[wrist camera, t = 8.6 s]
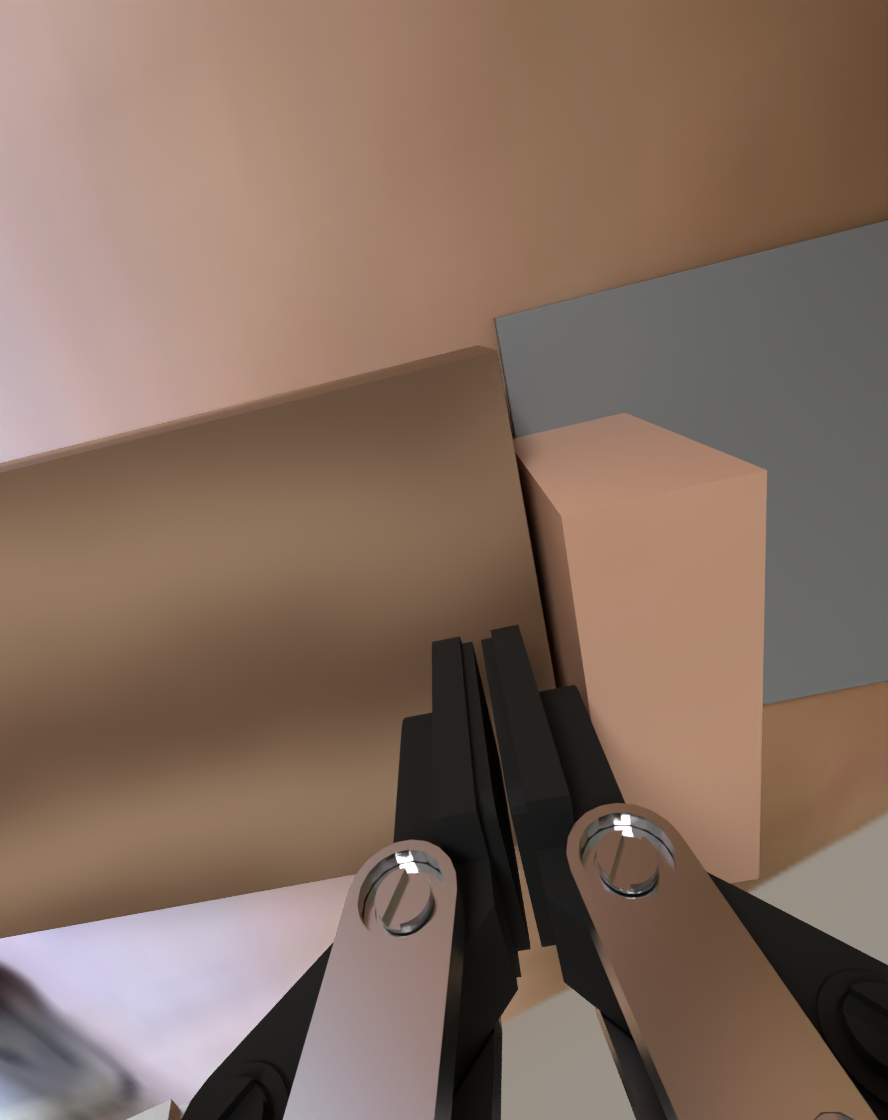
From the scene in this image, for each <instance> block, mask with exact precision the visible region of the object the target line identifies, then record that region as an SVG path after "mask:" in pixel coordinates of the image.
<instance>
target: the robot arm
mask: <svg viewBox="0 0 888 1120" xmlns="http://www.w3.org/2000/svg"><path fill="white" fill-rule="evenodd" d="M490 631H491V636H492V638H487V639H482V640H481V643H482V649H483V655H484V661H485V667H486V673H487V679H488V685H489V691H490V697H491V704H492V710H493V716H494V722H495V728H496V734H497V740H498V746H499V752H500V758H501V764H502V769H501V764H500V758H499V753H498V749H497V744H496V740H495V736H494V731H493V727H492V723H491V719H490V714H489V710H488V706H487V702H486V697H485V693H484V689H483V684H482V680H481V676H480V672H479V667H478V663H477V659H476V655H475V650H474V646H473V643H472V642H467V643H462V641H461V638H460V636H459V637H454V638H449V639H444V640H439V641H434V642H432V713H427V714H422V715H416V716H411V717H406V718H404V719H403V722H402V729H401V743H400V757H399V771H398V785H397V799H396V813H395V827H394V841H393V844H391V845H389V846H387V847H385V848H383V849H381V850H379V851H378V852H377V853H376V854H374V855H373V856H372V857H371V858H370V859H368V860H367V861H366V862H365V864H364V865H363V866H362V867H361V869H360V870H359V871H358V873H357V874H356V875H355V877H354V880H353V882H352V884H351V887H350V889H349V891H348V894H347V898H346V901H345V905H344V908H343V912H342V915H341V919H340V922H339V925H338V929H337V932H336V936H335V939H334V942H333V943H332V944H331V945H330V947H329V948H328V949H327V950H326V951H325V952H324V953H323V954H322V955H321V956H320V957H319V958H318V960H317V961H316V962H315V963H314V964H313V965H312V966H311V967H310V968H309V969H308V970H307V971H306V973H305V974H304V975H303V976H302V977H301V978H300V979H299V980H298V981H297V982H296V983H295V985H294V986H293V987H292V988H291V989H290V990H289V991H288V992H287V993H286V994H285V995H284V996H283V998H282V999H281V1000H280V1001H279V1002H278V1003H277V1004H276V1005H275V1006H274V1007H273V1008H272V1009H271V1011H270V1012H269V1013H268V1014H267V1015H266V1016H265V1017H264V1018H263V1019H262V1020H261V1021H260V1022H259V1024H258V1025H257V1026H256V1027H255V1028H254V1029H253V1030H252V1031H251V1032H250V1033H249V1034H248V1036H247V1037H246V1038H245V1039H244V1040H243V1041H242V1042H241V1043H240V1044H239V1045H238V1046H237V1047H236V1049H235V1050H234V1051H233V1052H232V1053H231V1054H230V1055H229V1056H228V1057H227V1058H226V1059H225V1060H224V1062H223V1063H222V1064H221V1065H220V1066H219V1067H218V1068H217V1069H216V1070H215V1071H214V1072H213V1073H212V1075H211V1076H210V1077H209V1078H208V1079H207V1080H206V1082H205V1083H204V1084H203V1086H202V1087H201V1088H200V1090H199V1091H198V1092H197V1094H196V1095H195V1096H194V1097H193V1099H192V1100H190V1101H188V1102H186V1103H184V1104H181V1105H179V1106H177V1105H176V1104H175V1103H174V1102H173V1100H172V1099H170V1100H168V1101H166V1102H164V1103H162V1104H159V1105H157V1106H155V1107H153V1108H150V1109H148V1110H146V1111H144V1112H142V1113H139V1114H137V1115H135V1116H133V1117H130V1118H128V1119H126V1120H501V1078H502V1077H501V1075H502V1025H501V1015H502V1014H503V1012H504V1010H505V1009H506V1007H507V1006H508V1004H509V1003H510V1001H511V999H512V998H513V996H514V995H515V993H516V992H517V990H518V986H517V979H516V977H521V972H520V965H519V958H518V951H521V950H527V949H530V940H529V934H528V928H527V922H526V916H525V910H524V903H523V897H522V891H521V885H520V879H519V873H518V867H517V861H516V855H515V849H514V843H513V836H512V830H511V824H510V818H509V812H508V806H507V800H506V794H505V788H504V782H505V787H506V793H507V798H508V803H509V808H510V813H511V818H512V822H513V826H514V831H515V835H516V839H517V843H518V848H519V852H520V856H521V860H522V864H523V869H524V873H525V877H526V881H527V886H528V890H529V894H530V898H531V903H532V907H533V911H534V915H535V919H536V924H537V928H538V932H539V936H540V941H541V945H542V947H546V946H552V945H556V947H557V952H558V956H559V961H560V965H561V970H562V975H563V979H564V982H565V983H566V984H567V985H569V986H570V987H571V988H572V989H574V990H575V991H576V992H577V993H579V994H580V995H581V996H582V997H584V998H585V999H586V1000H587V1001H589V1002H590V1003H591V1004H592V1005H594V1006H595V1009H596V1012H597V1016H598V1020H599V1022H600V1025H601V1028H602V1030H603V1033H604V1036H605V1038H606V1041H607V1043H608V1046H609V1049H610V1051H611V1054H612V1057H613V1059H614V1062H615V1065H616V1067H617V1070H618V1073H619V1075H620V1078H621V1080H622V1083H623V1086H624V1088H625V1091H626V1094H627V1096H628V1099H629V1102H630V1104H631V1107H632V1110H633V1113H634V1115H635V1118H636V1120H888V965H886V964H884V963H882V962H881V961H879V960H877V959H875V958H873V957H871V956H869V955H867V954H865V953H863V952H861V951H859V950H857V949H855V948H853V947H851V946H849V945H847V944H845V943H844V942H842V941H840V940H838V939H836V938H834V937H832V936H830V935H828V934H826V933H824V932H822V931H821V930H819V929H817V928H815V927H813V926H811V925H809V924H807V923H805V922H803V921H801V920H799V919H797V918H795V917H793V916H791V915H790V914H788V913H786V912H784V911H782V910H780V909H778V908H776V907H774V906H772V905H770V904H768V903H766V902H764V901H763V900H761V899H759V898H757V897H755V896H753V895H751V894H749V893H747V892H745V891H743V890H741V889H739V888H737V887H736V886H734V885H732V884H730V883H728V882H726V881H724V880H722V879H720V878H718V877H716V876H714V875H712V874H710V873H708V872H707V871H706V870H705V869H704V868H703V866H702V865H701V863H700V862H699V860H698V859H697V857H696V856H695V855H694V853H693V852H692V850H691V849H690V847H689V846H688V844H687V843H686V842H685V840H684V839H683V837H682V836H681V834H680V833H679V832H678V831H677V830H676V829H675V828H674V827H673V826H672V825H671V824H670V822H669V821H668V820H666V819H665V818H663V817H661V816H660V815H658V814H657V813H655V812H654V811H652V810H649V809H646V808H643V807H640V806H638V805H635V804H626V803H625V801H624V799H623V796H622V794H621V791H620V789H619V787H618V784H617V782H616V779H615V777H614V774H613V772H612V770H611V767H610V765H609V762H608V760H607V758H606V755H605V753H604V750H603V748H602V746H601V743H600V741H599V738H598V736H597V734H596V731H595V729H594V726H593V724H592V722H591V719H590V717H589V714H588V712H587V710H586V707H585V705H584V702H583V700H582V698H581V695H580V693H579V691H578V689H577V687H576V686H575V685H571V686H565V687H560V688H555V689H550V690H545V691H540V692H539V691H538V688H537V685H536V681H535V678H534V675H533V671H532V668H531V665H530V662H529V658H528V655H527V652H526V648H525V645H524V642H523V638H522V635H521V632H520V629H519V626H518V625H513V626H508V627H503V628H498V629H493V630H490ZM502 770H503V776H504V782H503V776H502Z"/></svg>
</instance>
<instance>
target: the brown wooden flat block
mask: <svg viewBox="0 0 888 1120" xmlns="http://www.w3.org/2000/svg"><path fill="white" fill-rule="evenodd" d="M513 625H518V626H519V629H520V632H521V635H522V638H523V642H524V645H525V648H526V652H527V655H528V658H529V662H530V665H531V668H532V671H533V675H534V678H535V681H536V685H537V688H538V691H539V692H540V691H545V690H550V689H555V688H556V685H555V680H554V674H553V668H552V662H551V657H550V651H549V645H548V640H547V634H546V628H545V622H544V617H543V611H542V605H541V600H540V594H539V588H538V582H537V577H536V571H535V565H534V560H533V554H532V548H531V542H530V537H529V531H528V525H527V519H526V514H525V508H524V502H523V497H522V491H521V485H520V479H519V474H518V468H517V462H516V457H515V451H514V445H513V439H512V434H511V428H510V422H509V416H508V411H507V405H506V399H505V394H504V388H503V382H502V376H501V371H500V365H499V359H498V354H497V351H496V350H492V349H488V348H484V347H481V346H474V347H470V348H466V349H462V350H458V351H454V352H450V353H446V354H442V355H438V356H434V357H430V358H426V359H422V360H418V361H414V362H410V363H406V364H401V365H397V366H393V367H389V368H385V369H381V370H377V371H373V372H369V373H365V374H361V375H357V376H353V377H349V378H345V379H341V380H337V381H333V382H328V383H324V384H320V385H316V386H312V387H308V388H304V389H300V390H296V391H292V392H288V393H284V394H280V395H276V396H272V397H268V398H264V399H260V400H256V401H251V402H247V403H243V404H239V405H235V406H231V407H227V408H223V409H219V410H215V411H211V412H207V413H203V414H199V415H195V416H191V417H187V418H183V419H179V420H174V421H170V422H166V423H162V424H158V425H154V426H150V427H146V428H142V429H138V430H134V431H130V432H126V433H122V434H118V435H114V436H110V437H106V438H102V439H97V440H93V441H89V442H85V443H81V444H77V445H73V446H69V447H65V448H61V449H57V450H53V451H49V452H45V453H41V454H37V455H33V456H29V457H25V458H20V459H16V460H12V461H8V462H4V463H0V938H5V937H10V936H16V935H21V934H27V933H32V932H38V931H44V930H49V929H55V928H60V927H66V926H71V925H77V924H82V923H88V922H93V921H99V920H104V919H110V918H115V917H121V916H126V915H132V914H137V913H143V912H148V911H154V910H160V909H165V908H171V907H176V906H182V905H187V904H193V903H198V902H204V901H209V900H215V899H220V898H226V897H231V896H237V895H242V894H248V893H253V892H259V891H264V890H270V889H275V888H281V887H287V886H292V885H298V884H303V883H309V882H314V881H320V880H325V879H331V878H336V877H342V876H347V875H353V874H357V873H358V871H359V870H360V869H361V867H362V866H363V865H364V864H365V862H366V861H367V860H368V859H370V858H371V857H372V856H373V855H374V854H376V853H377V852H378V851H379V850H381V849H383V848H385V847H387V846H389V845H391V844H393V841H394V827H395V813H396V799H397V785H398V771H399V757H400V743H401V729H402V722H403V719H404V718H406V717H411V716H416V715H422V714H427V713H432V642H434V641H439V640H444V639H449V638H454V637H459V636H460V638H461V641H462V643H467V642H472V643H473V646H474V650H475V655H476V659H477V663H478V667H479V672H480V676H481V680H482V684H483V689H484V693H485V697H486V702H487V706H488V710H489V714H490V719H491V723H492V727H493V731H494V736H495V740H496V744H497V749H498V753H499V758H500V752H499V746H498V740H497V734H496V728H495V722H494V716H493V710H492V704H491V697H490V691H489V685H488V679H487V673H486V667H485V661H484V655H483V649H482V643H481V640H482V639H487V638H492V636H491V631H490V630H493V629H498V628H503V627H508V626H513ZM500 764H501V758H500ZM501 769H502V764H501ZM502 776H503V770H502ZM503 782H504V776H503ZM504 788H505V794H506V800H507V806H508V812H509V818H510V824H511V830H512V836H513V843H514V845H518V843H517V839H516V835H515V831H514V826H513V822H512V818H511V813H510V808H509V803H508V798H507V793H506V787H505V782H504Z"/></svg>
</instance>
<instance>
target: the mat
mask: <svg viewBox="0 0 888 1120" xmlns="http://www.w3.org/2000/svg"><path fill="white" fill-rule="evenodd" d="M494 321H495V327H496V333H497V339H498V344H499V350H500V356H501V362H502V368H503V373H504V379H505V385H506V391H507V396H508V402H509V408H510V414H511V420H512V425H513V431H514V437H515V438H518V437H522V436H527V435H531V434H535V433H540V432H544V431H548V430H552V429H557V428H561V427H565V426H570V425H574V424H578V423H582V422H587V421H591V420H595V419H600V418H604V417H608V416H612V415H617V414H621V413H627V414H630V415H632V416H635V417H637V418H640V419H642V420H644V421H647V422H649V423H652V424H654V425H657V426H659V427H662V428H664V429H667V430H669V431H672V432H674V433H677V434H679V435H682V436H684V437H686V438H689V439H691V440H694V441H696V442H699V443H701V444H704V445H706V446H709V447H711V448H714V449H716V450H719V451H721V452H724V453H726V454H728V455H731V456H733V457H736V458H738V459H741V460H743V461H746V462H748V463H751V464H753V465H756V466H758V467H761V468H763V469H765V470H767V501H766V552H765V603H764V654H763V705H765V704H770V703H775V702H780V701H785V700H791V699H796V698H801V697H806V696H811V695H817V694H822V693H827V692H832V691H837V690H842V689H848V688H853V687H858V686H863V685H868V684H874V683H879V682H884V681H888V220H886V221H882V222H878V223H874V224H870V225H866V226H862V227H858V228H854V229H850V230H846V231H842V232H838V233H834V234H830V235H826V236H822V237H818V238H814V239H810V240H806V241H802V242H798V243H794V244H790V245H786V246H782V247H778V248H774V249H770V250H766V251H762V252H758V253H754V254H750V255H746V256H742V257H738V258H734V259H730V260H726V261H722V262H718V263H714V264H710V265H706V266H702V267H698V268H694V269H690V270H686V271H682V272H678V273H674V274H670V275H666V276H662V277H658V278H654V279H650V280H646V281H642V282H638V283H634V284H630V285H626V286H622V287H618V288H614V289H610V290H606V291H602V292H598V293H594V294H590V295H586V296H582V297H578V298H574V299H570V300H566V301H562V302H558V303H554V304H550V305H546V306H542V307H538V308H534V309H530V310H526V311H522V312H518V313H514V314H510V315H506V316H502V317H498V318H494Z"/></svg>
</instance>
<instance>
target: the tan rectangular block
mask: <svg viewBox="0 0 888 1120" xmlns="http://www.w3.org/2000/svg"><path fill="white" fill-rule="evenodd" d="M513 445H514V451H515V457H516V462H517V468H518V474H519V479H520V485H521V491H522V497H523V502H524V508H525V514H526V519H527V525H528V531H529V537H530V542H531V548H532V554H533V560H534V565H535V571H536V577H537V582H538V588H539V594H540V600H541V605H542V611H543V617H544V622H545V628H546V634H547V640H548V645H549V651H550V657H551V662H552V668H553V674H554V680H555V685H556V688H560V687H565V686H571V685H575V686H576V687H577V689H578V691H579V693H580V695H581V698H582V700H583V702H584V705H585V707H586V710H587V712H588V714H589V717H590V719H591V722H592V724H593V726H594V729H595V731H596V734H597V736H598V738H599V741H600V743H601V746H602V748H603V750H604V753H605V755H606V758H607V760H608V762H609V765H610V767H611V770H612V772H613V774H614V777H615V779H616V782H617V784H618V787H619V789H620V791H621V794H622V796H623V799H624V801H625V803H626V804H635V805H638V806H640V807H643V808H646V809H649V810H652V811H654V812H655V813H657V814H658V815H660V816H661V817H663V818H665V819H666V820H668V821H669V822H670V824H671V825H672V826H673V827H674V828H675V829H676V830H677V831H678V832H679V833H680V834H681V836H682V837H683V839H684V840H685V842H686V843H687V844H688V846H689V847H690V849H691V850H692V852H693V853H694V855H695V856H696V857H697V859H698V860H699V862H700V863H701V865H702V866H703V868H704V869H705V870H706V871H707V872H708V873H710V874H712V875H714V876H716V877H718V878H720V879H722V880H724V881H726V882H728V883H730V884H731V883H736V882H742V881H748V880H754V879H759V858H760V807H761V756H762V705H763V654H764V603H765V552H766V501H767V470H765V469H763V468H761V467H758V466H756V465H753V464H751V463H748V462H746V461H743V460H741V459H738V458H736V457H733V456H731V455H728V454H726V453H724V452H721V451H719V450H716V449H714V448H711V447H709V446H706V445H704V444H701V443H699V442H696V441H694V440H691V439H689V438H686V437H684V436H682V435H679V434H677V433H674V432H672V431H669V430H667V429H664V428H662V427H659V426H657V425H654V424H652V423H649V422H647V421H644V420H642V419H640V418H637V417H635V416H632V415H630V414H627V413H621V414H617V415H612V416H608V417H604V418H600V419H595V420H591V421H587V422H582V423H578V424H574V425H570V426H565V427H561V428H557V429H552V430H548V431H544V432H540V433H535V434H531V435H527V436H522V437H518V438H514V439H513Z"/></svg>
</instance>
